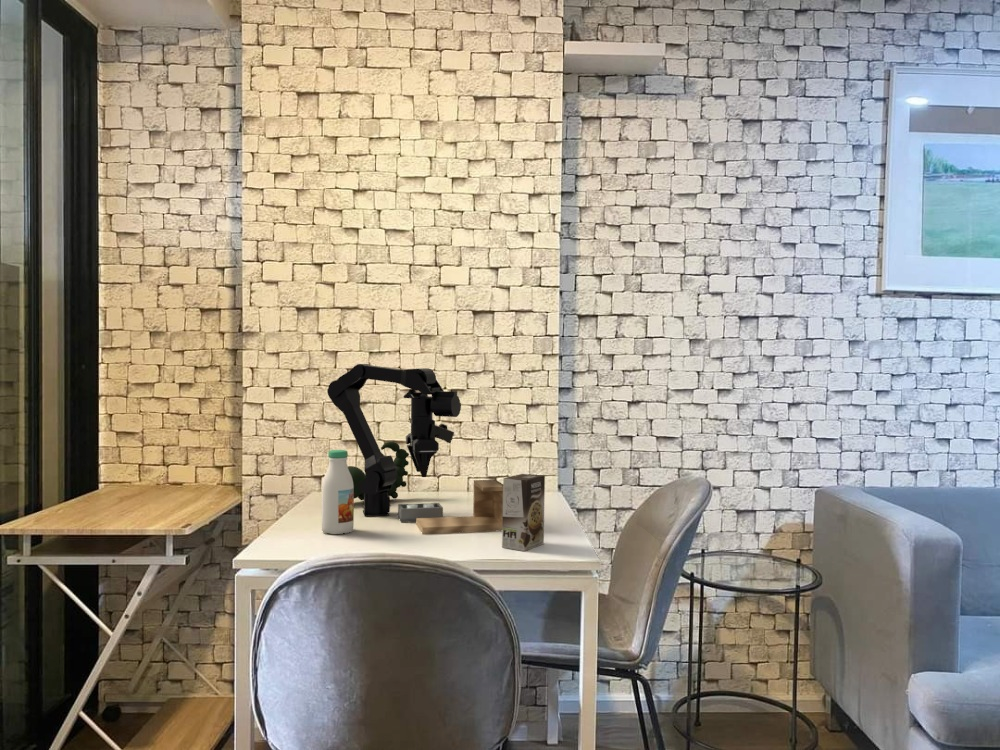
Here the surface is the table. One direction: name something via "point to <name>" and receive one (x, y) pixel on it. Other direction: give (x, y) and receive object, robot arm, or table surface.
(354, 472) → the toy figurine
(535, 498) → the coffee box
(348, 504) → the milk bottle
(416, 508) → the tray
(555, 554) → the table surface
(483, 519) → the wooden l-shaped stand
